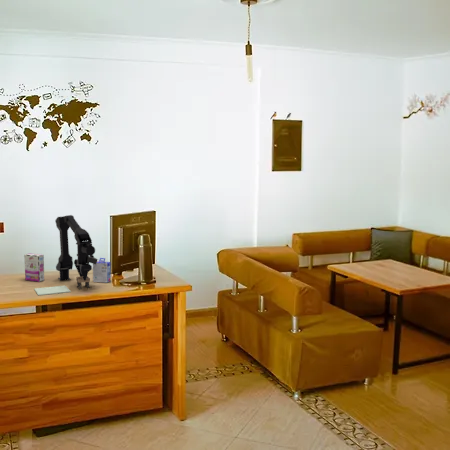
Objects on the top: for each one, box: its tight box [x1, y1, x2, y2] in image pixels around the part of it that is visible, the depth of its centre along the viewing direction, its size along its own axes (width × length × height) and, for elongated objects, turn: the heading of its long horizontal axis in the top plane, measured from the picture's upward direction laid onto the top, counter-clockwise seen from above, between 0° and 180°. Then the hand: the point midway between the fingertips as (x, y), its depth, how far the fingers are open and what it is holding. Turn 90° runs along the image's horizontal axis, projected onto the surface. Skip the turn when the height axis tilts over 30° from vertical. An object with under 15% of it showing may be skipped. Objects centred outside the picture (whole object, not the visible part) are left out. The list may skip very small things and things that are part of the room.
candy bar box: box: [23, 253, 45, 283], centre depth 364 cm, size 11×5×16 cm, turn 68°
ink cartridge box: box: [92, 257, 112, 283], centre depth 364 cm, size 10×6×14 cm, turn 78°
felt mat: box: [33, 285, 72, 297], centre depth 342 cm, size 14×18×1 cm
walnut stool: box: [76, 275, 91, 290], centre depth 349 cm, size 6×6×6 cm
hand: (83, 278), depth 349 cm, fingers open, 9 cm apart
